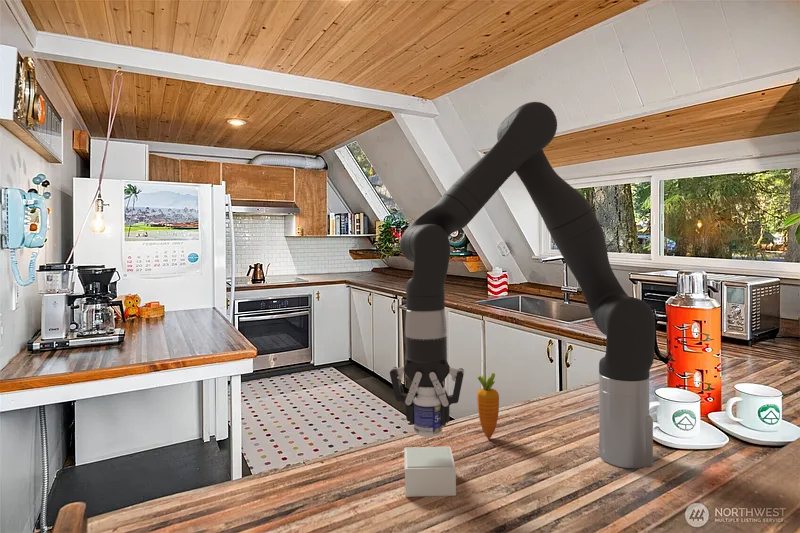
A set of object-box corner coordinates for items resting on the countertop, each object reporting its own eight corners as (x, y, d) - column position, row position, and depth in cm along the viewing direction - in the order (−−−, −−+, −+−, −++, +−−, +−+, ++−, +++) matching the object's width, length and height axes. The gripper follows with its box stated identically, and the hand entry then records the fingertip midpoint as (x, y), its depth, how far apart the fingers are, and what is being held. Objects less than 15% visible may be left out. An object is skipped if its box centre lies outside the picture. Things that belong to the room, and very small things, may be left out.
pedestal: (450, 471, 95) (450, 445, 95) (456, 495, 86) (455, 466, 86) (404, 472, 95) (404, 446, 95) (405, 496, 86) (404, 468, 86)
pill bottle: (440, 438, 87) (439, 390, 87) (411, 437, 88) (410, 388, 88) (443, 427, 92) (443, 381, 92) (416, 425, 93) (415, 380, 93)
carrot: (475, 441, 109) (474, 375, 108) (480, 433, 114) (479, 369, 113) (497, 444, 107) (496, 377, 106) (501, 435, 112) (500, 371, 111)
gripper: (466, 330, 92) (467, 418, 93) (391, 329, 94) (393, 415, 95) (464, 338, 84) (466, 433, 85) (383, 337, 87) (385, 430, 88)
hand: (427, 423), depth 90 cm, fingers closed on pill bottle, 5 cm apart
